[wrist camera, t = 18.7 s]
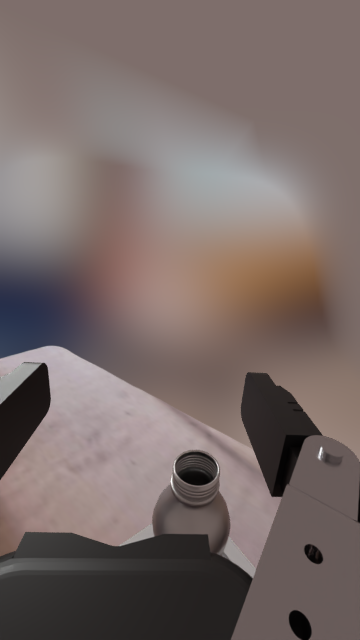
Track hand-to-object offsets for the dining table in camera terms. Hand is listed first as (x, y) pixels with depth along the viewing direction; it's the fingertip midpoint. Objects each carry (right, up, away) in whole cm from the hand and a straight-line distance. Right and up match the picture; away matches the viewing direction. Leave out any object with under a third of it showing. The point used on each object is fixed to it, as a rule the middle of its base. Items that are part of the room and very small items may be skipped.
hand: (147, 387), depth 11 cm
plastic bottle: (+2, -28, +16) cm, 32 cm away
